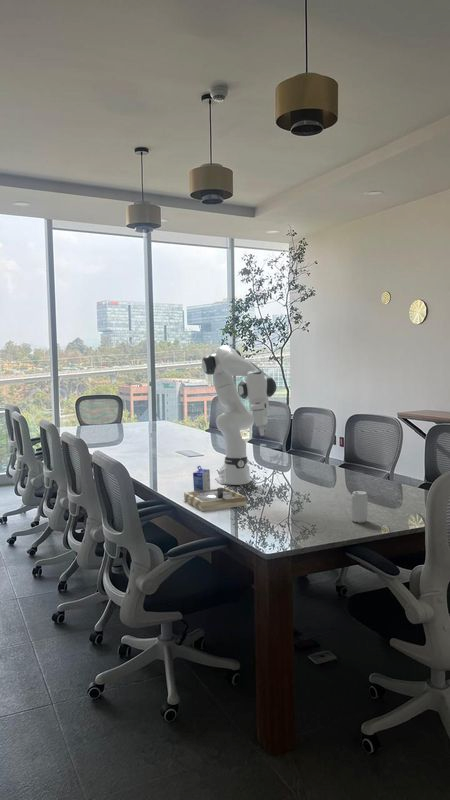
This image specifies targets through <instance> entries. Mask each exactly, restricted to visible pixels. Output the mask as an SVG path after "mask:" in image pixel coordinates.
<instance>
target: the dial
mask: <svg viewBox="0 0 450 800" xmlns="http://www.w3.org/2000/svg"><path fill="white" fill-rule="evenodd" d="M223 488H224V487H217V488H216V489H217V491H208V492H202V493H199V494H197V498H198V499H200V500H202V501H211V500H219V499H223V498H225V499H227V498H233V497H232V494H231V493H229V492H224V491H223Z"/></svg>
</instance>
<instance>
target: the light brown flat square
mask: <svg viewBox="0 0 450 800" xmlns="http://www.w3.org/2000/svg"><path fill="white" fill-rule="evenodd" d="M222 488H223V491H224V492H229V493H231V494H232V497H233V498H227V499H225V498H223V499H219V500H211V501H202V500H200V499H198V498H197V494H199V493H202V492H208V491H217V488H212V489H211V488H210V490H202V491H194V490H192V491H186V492H185V491H184V493H183V495H184V496H183V498H184V499H183V500H185V501H184V502H186V503H187V502H188V503H187V504H189V503H190V504H189V505H191V506H192V505H193V506H192V507H194V506H195V507H194V508H196V509H197V508H198V509H197V510H199V511H201V512H205V511H213V510H220V509H221V510H223V509H230V508H236V507H238V508H239V507H245V506H247V496H245V495H243V494H241V493H239V492H237V491H235V490H232V489H230V488H227V487H222Z"/></svg>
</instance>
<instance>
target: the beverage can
mask: <svg viewBox="0 0 450 800" xmlns="http://www.w3.org/2000/svg"><path fill="white" fill-rule="evenodd" d="M368 497H369V496H368V493H367V492H366V491H363V490H355V491H352V494H351V515H350V516H351V518H350V519H351V520H352V522H353V521H354V523H356V522H358V523H357V524H364V523H366V522H367V521H368V515H369V513H368V507H369V506H368V505H369V504H368V503H369V501H368ZM363 522H364V523H363Z"/></svg>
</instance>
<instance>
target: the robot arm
mask: <svg viewBox="0 0 450 800" xmlns="http://www.w3.org/2000/svg"><path fill="white" fill-rule="evenodd" d="M201 368H202V370H203V373H205V374H206V375H210V376H211V375H212V379H213V386H214V389H215V393H216V396H217V399H218V403H219V404H220V406H222V407H224V409H226V411H225V412H223V413H221V414H219V415H218V416H217V418H216V420H215V424H216V428H217V430H219V431H220V432H221V434H222V435H223V439H224V442H225V443H224V445H225V457H224V462H223V463H224V464H222V466H221V467H220V468H219V470H218V472H217V474H218V475H219V476H215V479H214V480H215V481H216V482H218V483H219V484H221V485H233V486H234V485H236V486H237V485H239V486H241V485H246V484H250V483H251V482H252V481H253V478H251V470H250V466H249V465H248V456H247V442H246V440H245V439H244V438H242V435H241V431H246V430H249V429H250V428H252V427H253V426H254V424H255V426H256V427H257V428H258V432H259V435H260V437H262V436H263V437H264V436H265V434H267V424H268V423H269V421H268V419H269V418H268V413H267V412H268V409H269V408H270V404H269V403H270V402H269V401H270V400H269V398H271V397H273V396H274V394H275V393H276V392H277V383H276V381H275V380H274V378H273V377H272V376H270V375H267V374H266V373H265V372H264V371H263V370H262V369H261V368H260V367H258V366H257V365H256V364H255V363H253V362H251V361H249V360H247V359H245V358H244V357H242V353H241V352H240V351H239V350H238V349H234V348H233V347H232V346H231V345H229V344H228V345H227V344H224V345H221V346H219V347H218V348H217V349H216V352H214V353H211V354H207V355H205V356H203V358H202V359H201ZM233 377H245V378H244V379H243V380H241V381H240V382H239V383H238V385H237V386H236V382H235V381H234V378H233ZM241 399H244V400H248V401H249V407H250V410H248V409H247V407H246V406H245V405H244V403H243V401H242V400H241ZM251 411H252V412H251Z"/></svg>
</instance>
